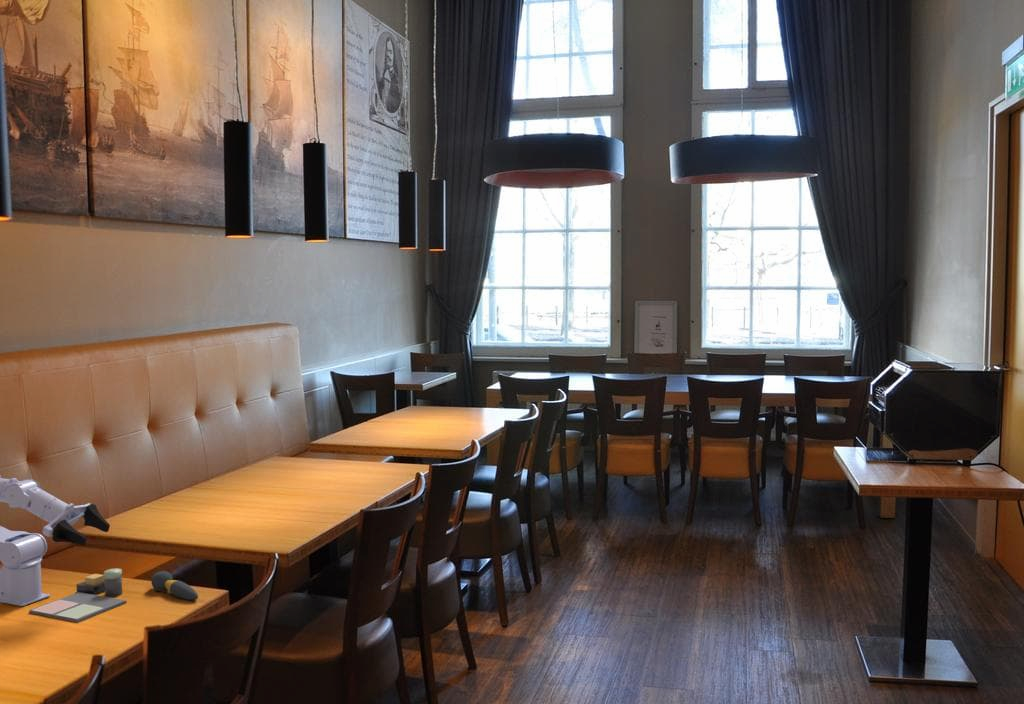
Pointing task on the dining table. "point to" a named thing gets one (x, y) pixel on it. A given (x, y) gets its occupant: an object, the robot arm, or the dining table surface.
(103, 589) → the button housing
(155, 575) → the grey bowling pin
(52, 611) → the picture board
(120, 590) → the green lidded grey jar
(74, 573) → the dining table surface
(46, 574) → the dining table surface
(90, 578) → the button
